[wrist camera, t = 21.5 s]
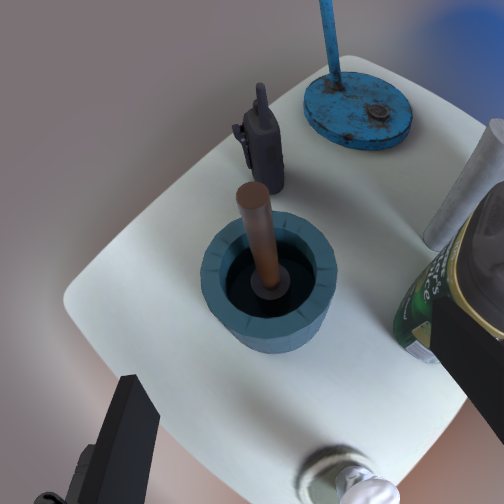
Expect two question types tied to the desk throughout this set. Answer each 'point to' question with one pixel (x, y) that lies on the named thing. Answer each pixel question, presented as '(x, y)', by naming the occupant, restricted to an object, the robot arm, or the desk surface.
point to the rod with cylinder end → (264, 250)
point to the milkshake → (364, 487)
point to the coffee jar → (460, 279)
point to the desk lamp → (354, 102)
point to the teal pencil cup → (242, 296)
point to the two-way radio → (262, 143)
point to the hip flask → (469, 186)
